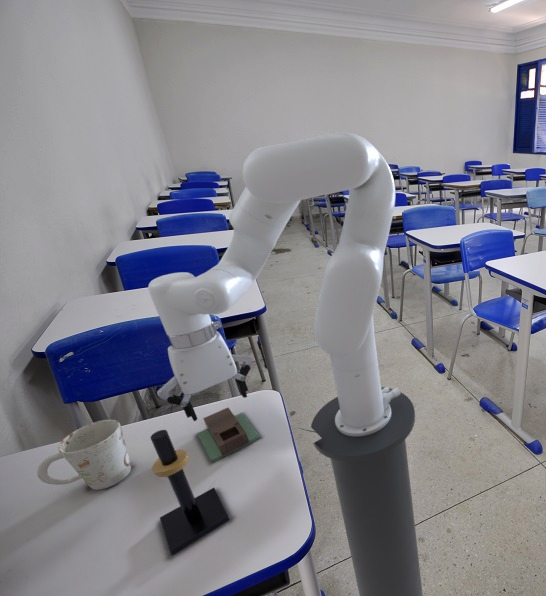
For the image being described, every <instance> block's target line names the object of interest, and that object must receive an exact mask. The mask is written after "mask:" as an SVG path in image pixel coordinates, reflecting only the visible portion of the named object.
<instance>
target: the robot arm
mask: <svg viewBox="0 0 546 596" xmlns="http://www.w3.org/2000/svg"><path fill="white" fill-rule="evenodd" d="M241 172H242V179H243V180H242V182H243V183H244V185H245V186H244V189H243V190H242V192H241V194H240V195H239V198H238V199H237V201H236V203H235V205H234V206H233V208H232V210H231V212H230V214H229V216H228V221H229V223H230V225H231V226H232V228H233V235H232V238H231V241H230V242H229V245H228V246H227V249H226V250H225V251H224V253H223V255H222V257H221V258H220V261H218V263H217V264H216V265H215V266H213V267H211V268H210V269H208V270H206V271H205V272H203V273H201V274H199V275H197V276H195V275H194V274H192V273H190V272H183V271H182V272H181V271H180V272H172V273H168V274H164V275H160V276H158V277H156V278H154V279H152V280H151V281H150V282H149V283H148V286H147V287H148V292H149V295H150V298H151V300H152V302H153V305H154V307H155V309H156V312H157V314H158V316H159V319H160V322H161V324H162V327H163V329H164V331H165V334H166V336H167V339H168V341H169V343H170V346H168V348H167V354H168V359H169V363H170V367H171V370H172V373H173V375H174V376H173V377H171V378H170V379H169V380H168V381H167V382H166V383H165V384H163V386H161V387H160V388H159V389H157V391H156V395H157V397H158V398H160V399H162V400H163V401H166V402H167V403H168V404H171V405H175V406H180V407H181V408H182V409H183V411H184V414H185V416H186V418H187V419H189V418H191V419H192V420H193V422H196V421H197V420H198V419H199V418H198V416H197V414H196V412H195V409H194V406H193V404H192V402H191V398H192V396H193V395H194V394H197V393H200V392H202V391H204V390H206V389H209V388H211V387H214V386H216V385H219V384H221V383H223V382H225V381H228V380H231V379H232V378H233V379H234V382H235V384H236V387H237V390H238V392H239V395H240V396H241V397H242V398H244V399H246V398H248V394H247V392H249V387H248V385H247V382H246V380H247V376H248V374H249V372H250V370H251V365H252V362H253V356H252V355H250V354H239V353H238V354H234V353H233V354H231V351H230V349H229V347H228V345H227V343H226V341H225V340H224V338H223V336H222V335H221V333H220V331H218V329H219V328H222V327H223V324H222V322H221V320H217V321H213V320H212V317H211V316H210V315H220V314H223V313H226V312H227V311H228V310H230V309H231V308H232V307H233V306H234V305H235V304H236V303H237V302H238V301H239V300H240V299H241V298H242V297H243V296H244V295H246V293H248V291H250V289H251V288H252V286H253V285H254V284H255V282H256V280H257V278H258V277H259V275H260V273H261V272H262V270H263V268H264V267H265V265H266V263H267V262H268V259H269V258H270V255H271V253H272V251H273V250H274V249H275V247H276V245H277V241H278V240H279V238H280V236H281V234H282V233H283V231H284V229H285V228H286V226H287V224H288V222H289V221H290V219H291V218H292V216H293V214H294V213H295V211H296V209H297V208H298V207H299V204H300V203H301V201H304V200H308V199H312V198H313V199H314V198H317V197H322V196H327V195H331V194H336V193H341V192H345V191H348V200H347V201H348V202H347V206H346V209H345V214H344V220H343V224H342V229H341V234H340V237H339V241H338V243H337V246H336V248H335V249H334V251H333V253H332V255H330V258H329V260H328V262H327V264H326V267H325V269H324V274H323V277H322V282H321V287H320V292H319V297H318V301H317V306H316V311H315V316H314V321H313V326H312V327H313V328H312V332H313V337H314V340H315V343H316V344H317V345H318V347H319V348H320V349H321V350H322V351H323V352H325V353H327V354H328V355H329V357H330V361H331V368H332V374H333V380H334V384H335V388H336V389H335V390H336V395H337V397H338V401H339V406H340V410H339V411H338V412H337V414H336V417H335V424H336V427H337V429H338V430H339V431H340V432H341V433H343V434H345V435H347V436H353V437H359V436H366V435H370V434H372V433H375V432H377V431H379V430H380V429H382V428H383V427H384V426H385V425H386V424H387V423H388V422H389V420H390V418H391V407H390V405H389V404H388V403H389V402H390V401H391V399H393V398H395V397H397V396H399V395H400V394H401V393H402V392H401V389H400V388H398V387H395V388H392V389H393V390H391V391H390V390H389V388H390V387H389V386H386V387H385V388H384V389H382V390H381V387H382V383H381V375H380V369H379V361H378V351H377V343H376V337H375V325H374V323H375V322H374V311H375V308H376V305H377V300H378V297H379V293H380V288H381V285H382V281H383V271H384V257H385V251H386V247H387V243H388V241H389V240H388V239H389V237H390V236H389V235H390V231H391V226H392V223H393V218H394V211H395V206H396V185H395V180H394V176H393V173H392V171H391V167H390V166H389V164H388V161H386V159H385V158H384V156H383V154H381V152H380V151H379V150H378V149H377V148H376V147H375V146H374V145H373V144H372V143H371V142H370V141H369V140H368V139H366V138H364V137H363V136H361V135H360V134H356V133H353V132H348V131H337V132H336V131H335V132H330V133H325V134H320V135H315V136H312V137H307V138H302V139H297V140H293V141H288V142H287V141H286V142H282V143H277V144H271V145H264V146H261V147H258V148H256V149H254V150H252V151H251V152H250V153H249V154H248V155H247V157H246V158H245V160H244V161H243V166H242V171H241ZM235 362H237V363H238V362H239V363H240V362H241V363H242V365H241V367H240V369H239V370H238V367H237V365H236V363H235ZM176 386H178V387H179V389H180V390H181V391H180V393H179V395H177V394H173V393H170V392H171V391H172V390H173V389H174V388H176ZM388 392H389V393H388ZM400 392H401V393H400Z"/></svg>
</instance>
